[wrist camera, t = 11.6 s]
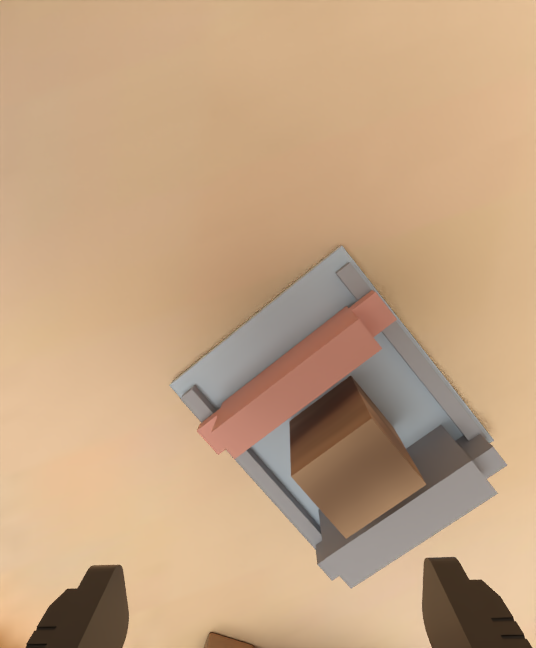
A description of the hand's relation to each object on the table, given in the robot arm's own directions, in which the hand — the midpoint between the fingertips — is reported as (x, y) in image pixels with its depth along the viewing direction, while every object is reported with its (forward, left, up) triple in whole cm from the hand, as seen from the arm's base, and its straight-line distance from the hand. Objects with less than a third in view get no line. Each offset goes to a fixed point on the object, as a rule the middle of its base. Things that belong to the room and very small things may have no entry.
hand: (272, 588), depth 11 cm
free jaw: (0, +1, -16) cm, 16 cm away
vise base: (+4, +1, -17) cm, 18 cm away
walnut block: (+5, +1, -16) cm, 17 cm away
